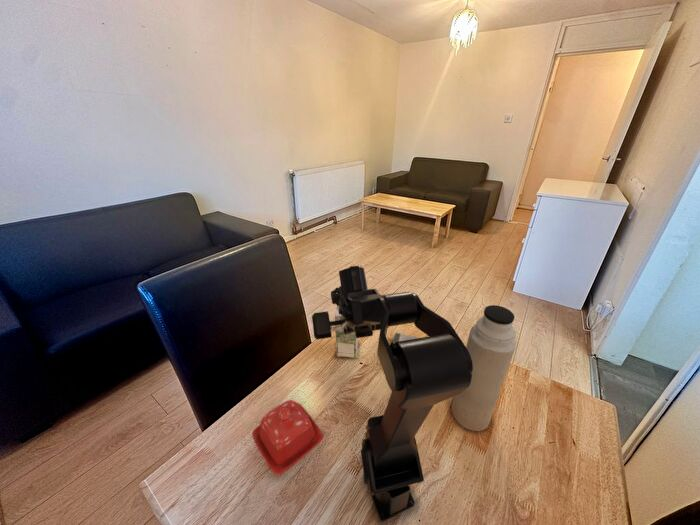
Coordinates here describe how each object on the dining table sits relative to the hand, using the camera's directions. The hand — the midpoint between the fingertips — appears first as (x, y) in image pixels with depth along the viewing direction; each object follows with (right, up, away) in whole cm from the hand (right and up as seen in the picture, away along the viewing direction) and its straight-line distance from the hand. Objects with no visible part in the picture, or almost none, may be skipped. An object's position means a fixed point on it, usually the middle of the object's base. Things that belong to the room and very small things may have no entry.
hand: (346, 324), depth 78 cm
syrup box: (0, -8, +3) cm, 9 cm away
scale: (+18, -9, +1) cm, 21 cm away
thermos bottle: (+28, -17, -14) cm, 36 cm away
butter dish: (-12, -19, -19) cm, 30 cm away
